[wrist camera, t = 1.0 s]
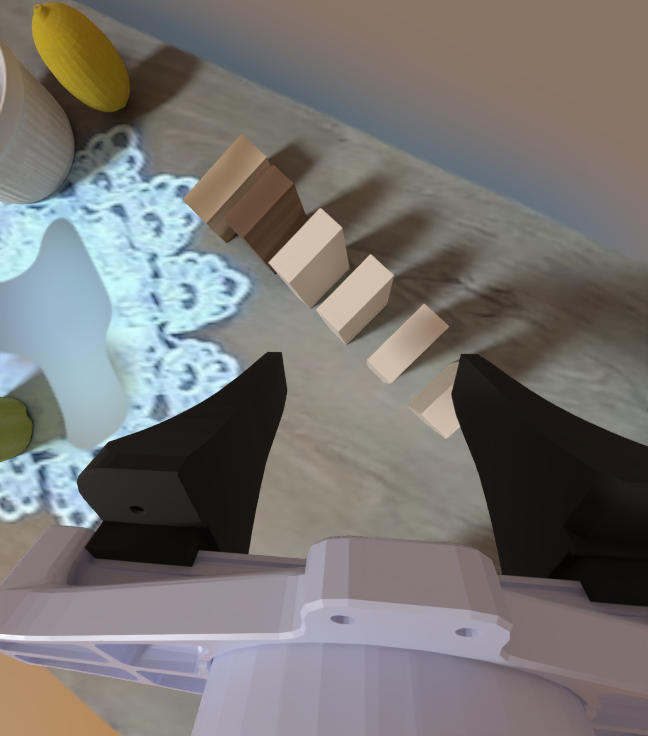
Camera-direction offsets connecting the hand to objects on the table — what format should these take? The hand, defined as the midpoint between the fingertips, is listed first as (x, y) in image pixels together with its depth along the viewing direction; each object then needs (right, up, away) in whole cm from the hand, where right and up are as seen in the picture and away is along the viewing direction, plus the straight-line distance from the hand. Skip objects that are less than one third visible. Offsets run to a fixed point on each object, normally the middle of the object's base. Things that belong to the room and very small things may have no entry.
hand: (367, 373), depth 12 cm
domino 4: (+4, +1, +12) cm, 13 cm away
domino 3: (+1, +5, +13) cm, 14 cm away
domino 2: (-2, +8, +14) cm, 16 cm away
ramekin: (-32, +22, +19) cm, 44 cm away
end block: (-9, +15, +15) cm, 23 cm away
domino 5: (+7, -2, +12) cm, 14 cm away
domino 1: (-5, +11, +14) cm, 19 cm away
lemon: (-22, +26, +18) cm, 38 cm away
